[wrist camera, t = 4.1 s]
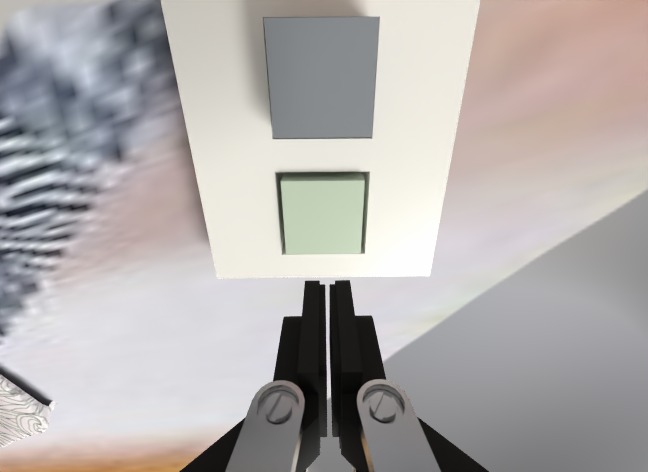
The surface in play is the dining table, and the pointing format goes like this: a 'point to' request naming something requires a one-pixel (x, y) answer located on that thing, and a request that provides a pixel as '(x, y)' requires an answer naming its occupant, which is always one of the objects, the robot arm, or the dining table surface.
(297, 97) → the charcoal key
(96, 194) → the dining table surface
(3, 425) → the cookie jar
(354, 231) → the sage key
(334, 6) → the keypad
